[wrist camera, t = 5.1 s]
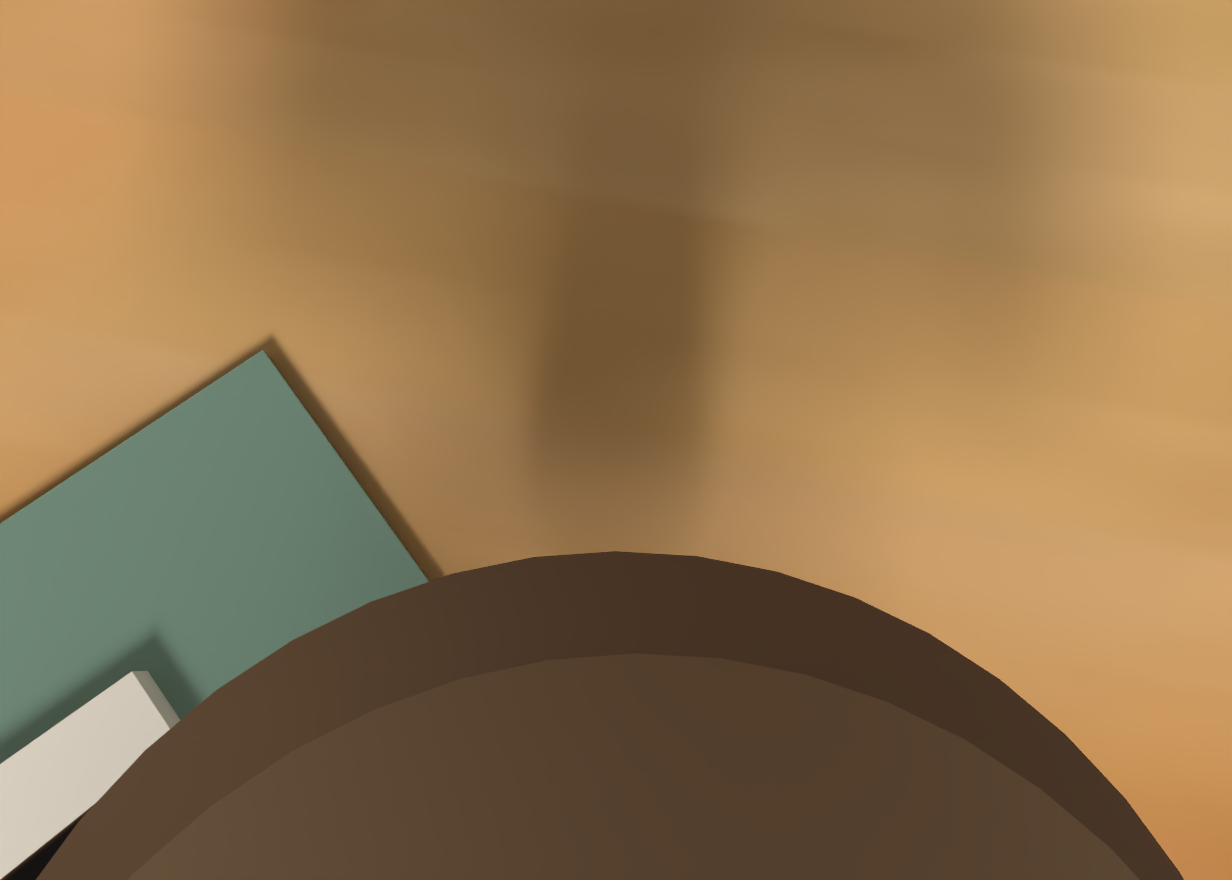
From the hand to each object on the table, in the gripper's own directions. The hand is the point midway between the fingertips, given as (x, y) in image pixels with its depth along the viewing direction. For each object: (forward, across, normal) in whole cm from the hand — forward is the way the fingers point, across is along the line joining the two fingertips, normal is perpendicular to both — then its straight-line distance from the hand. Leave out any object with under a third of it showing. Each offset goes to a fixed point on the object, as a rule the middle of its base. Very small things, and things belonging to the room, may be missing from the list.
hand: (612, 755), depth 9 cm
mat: (+9, +8, +10) cm, 16 cm away
